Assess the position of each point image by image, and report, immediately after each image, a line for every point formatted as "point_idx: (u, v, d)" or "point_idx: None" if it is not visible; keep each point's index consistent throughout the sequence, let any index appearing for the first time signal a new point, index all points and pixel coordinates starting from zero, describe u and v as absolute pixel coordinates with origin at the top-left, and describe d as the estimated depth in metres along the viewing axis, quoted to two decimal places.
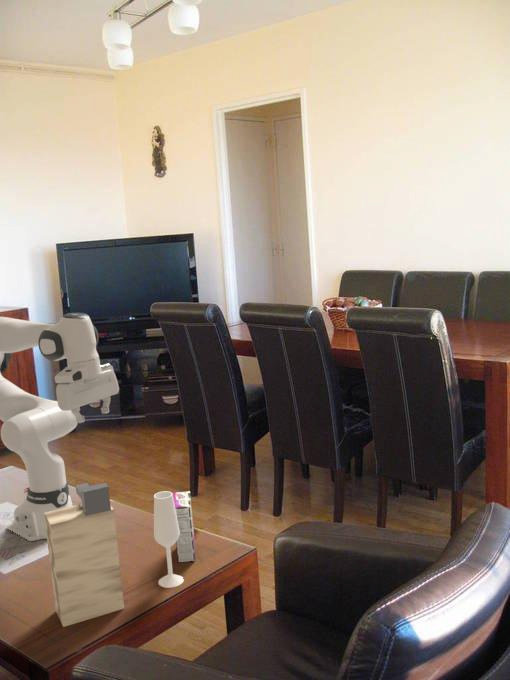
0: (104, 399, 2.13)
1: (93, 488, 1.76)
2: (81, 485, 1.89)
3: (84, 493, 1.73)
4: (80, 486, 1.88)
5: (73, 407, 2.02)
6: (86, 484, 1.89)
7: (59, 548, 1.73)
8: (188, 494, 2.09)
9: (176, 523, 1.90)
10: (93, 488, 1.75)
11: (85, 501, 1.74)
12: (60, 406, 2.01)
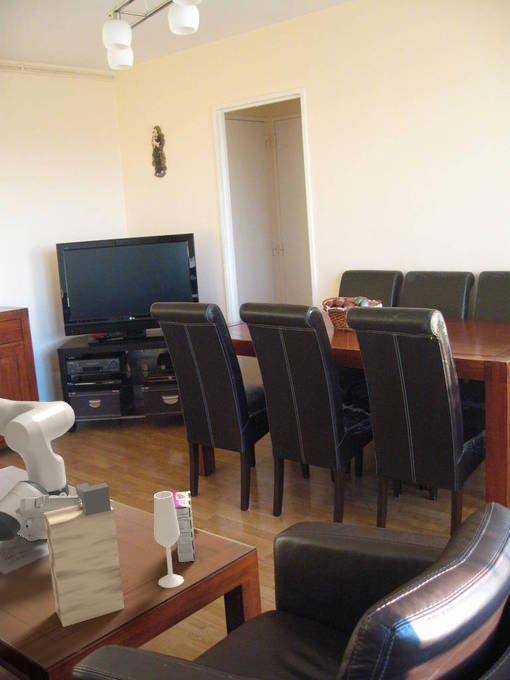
0: None
1: (93, 488, 1.76)
2: (81, 485, 1.89)
3: (84, 493, 1.73)
4: (80, 486, 1.88)
5: None
6: (86, 484, 1.89)
7: (59, 548, 1.73)
8: (188, 494, 2.09)
9: (176, 523, 1.90)
10: (93, 488, 1.75)
11: (85, 501, 1.74)
12: None
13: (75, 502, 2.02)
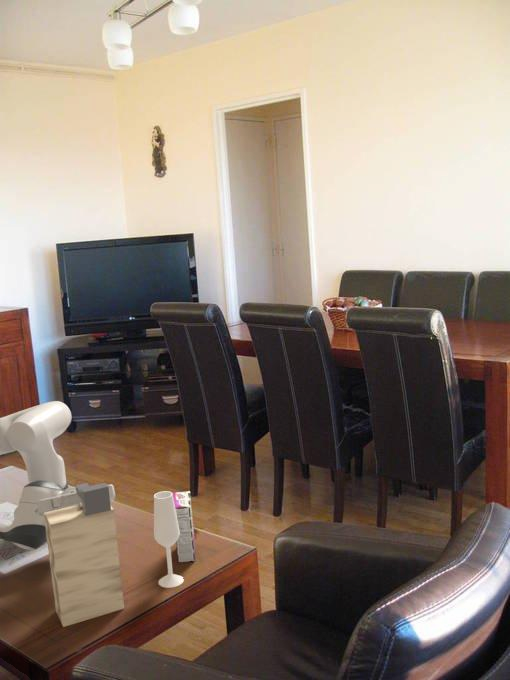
0: None
1: (93, 488, 1.76)
2: (81, 485, 1.89)
3: (84, 493, 1.73)
4: (80, 486, 1.88)
5: None
6: (86, 484, 1.89)
7: (59, 548, 1.73)
8: (188, 494, 2.09)
9: (176, 523, 1.90)
10: (93, 488, 1.75)
11: (85, 501, 1.74)
12: None
13: None
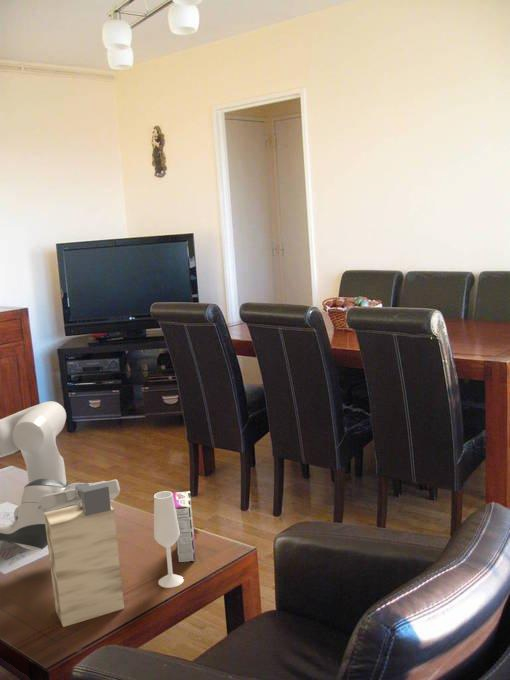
0: None
1: (92, 488, 1.76)
2: (81, 485, 1.89)
3: (84, 493, 1.73)
4: (80, 486, 1.88)
5: (112, 493, 1.94)
6: (86, 484, 1.89)
7: (59, 548, 1.73)
8: (188, 494, 2.09)
9: (176, 523, 1.90)
10: (93, 488, 1.75)
11: (85, 501, 1.74)
12: None
13: None
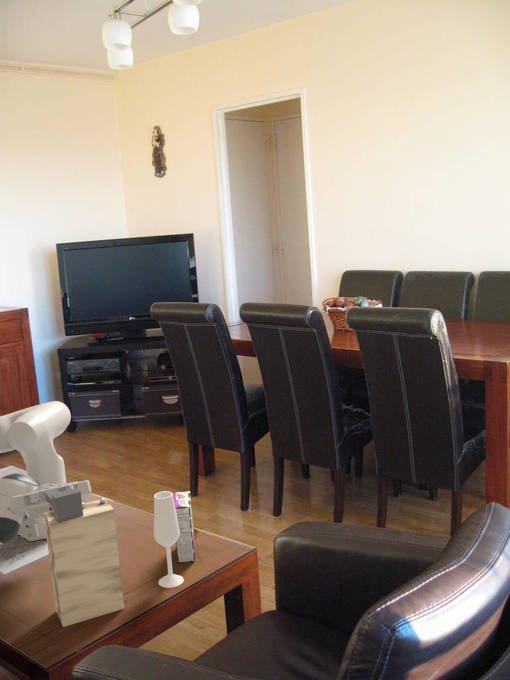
0: None
1: (64, 493, 1.73)
2: (50, 491, 1.86)
3: (56, 499, 1.71)
4: (49, 492, 1.85)
5: (83, 494, 1.90)
6: (55, 490, 1.86)
7: (59, 548, 1.73)
8: (188, 494, 2.09)
9: (176, 523, 1.90)
10: (65, 494, 1.73)
11: (57, 507, 1.71)
12: None
13: None
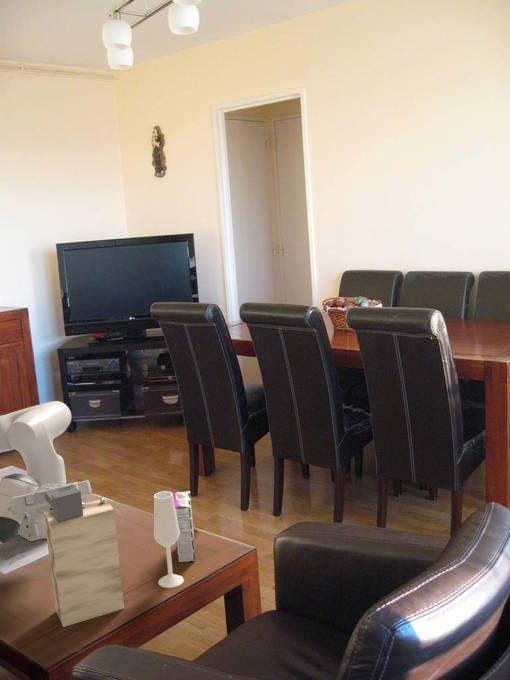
0: None
1: (64, 493, 1.73)
2: (50, 491, 1.86)
3: (56, 499, 1.71)
4: (49, 492, 1.85)
5: (83, 495, 1.91)
6: (55, 490, 1.86)
7: (59, 548, 1.73)
8: (188, 494, 2.09)
9: (176, 523, 1.90)
10: (65, 494, 1.73)
11: (57, 507, 1.71)
12: None
13: None
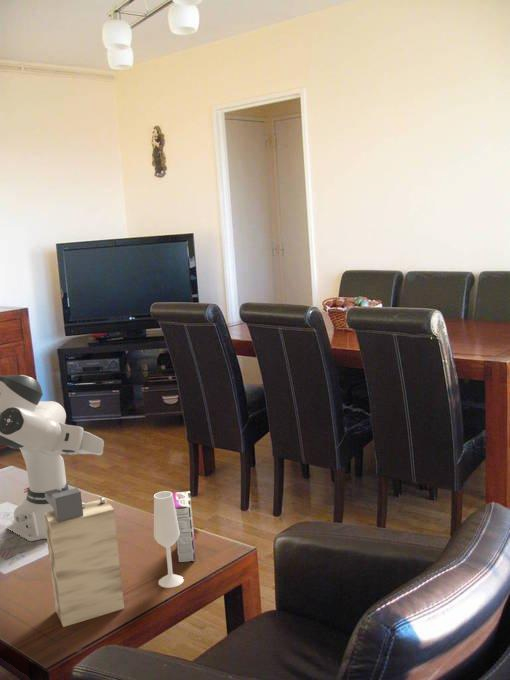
0: None
1: (64, 493, 1.73)
2: (50, 491, 1.86)
3: (56, 499, 1.71)
4: (49, 492, 1.85)
5: None
6: (55, 490, 1.86)
7: (59, 548, 1.73)
8: (188, 494, 2.09)
9: (176, 523, 1.90)
10: (65, 494, 1.73)
11: (57, 507, 1.71)
12: (101, 449, 1.95)
13: None
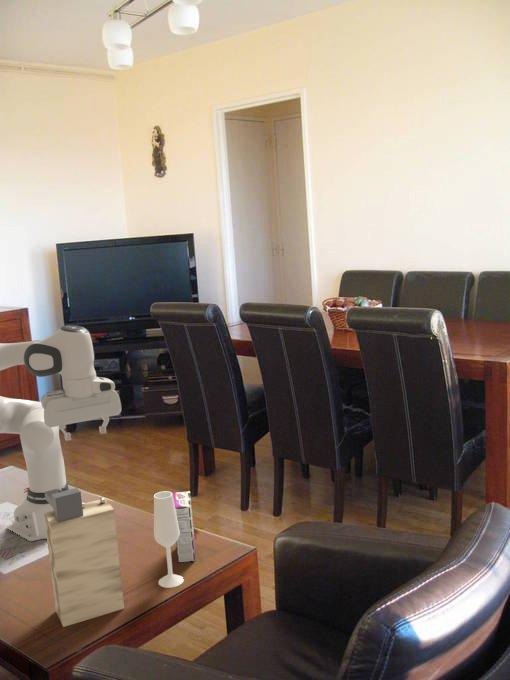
0: None
1: (64, 493, 1.73)
2: (50, 491, 1.86)
3: (56, 499, 1.71)
4: (49, 492, 1.85)
5: None
6: (55, 490, 1.86)
7: (59, 548, 1.73)
8: (188, 494, 2.09)
9: (175, 523, 1.90)
10: (65, 494, 1.73)
11: (57, 507, 1.71)
12: None
13: None
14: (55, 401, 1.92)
